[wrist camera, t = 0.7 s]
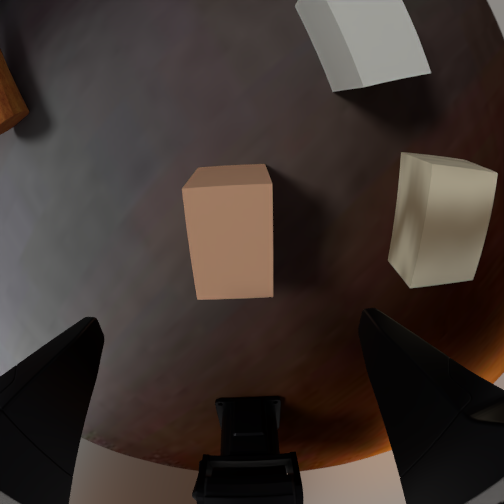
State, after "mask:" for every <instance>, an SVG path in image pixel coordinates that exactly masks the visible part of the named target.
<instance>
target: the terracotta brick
mask: <svg viewBox="0 0 504 504" xmlns="http://www.w3.org/2000/svg"><path fill="white" fill-rule="evenodd" d="M182 193H183V202H184V210H185V218H186V226H187V234H188V241H189V248H190V255H191V262H192V269H193V275H194V282H195V288H196V294H197V300H207V299H238V298H262V297H273V191H272V181H271V179H270V176H269V173H268V171H267V168H266V165H265V164H250V165H229V166H213V167H199V168H197V170H196V171H195V172H194V174H193V175H192V176H191V177H190V179H189V180H188V181H187V183H186V184H185V185H184V187H183V188H182Z"/></svg>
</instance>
